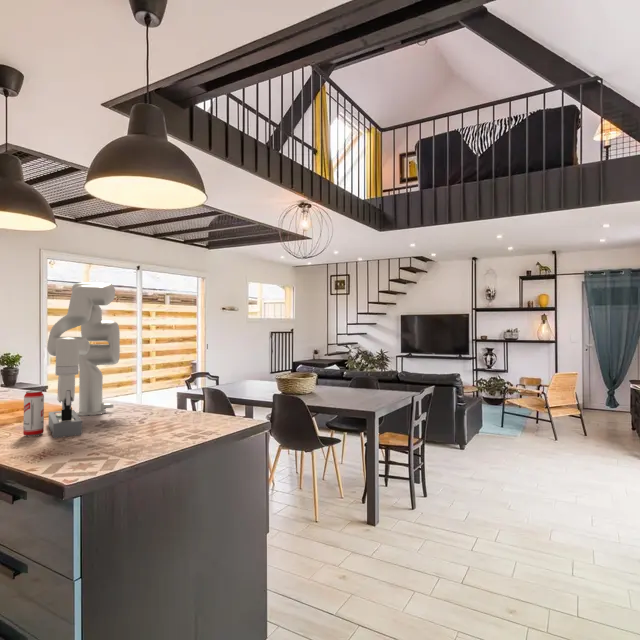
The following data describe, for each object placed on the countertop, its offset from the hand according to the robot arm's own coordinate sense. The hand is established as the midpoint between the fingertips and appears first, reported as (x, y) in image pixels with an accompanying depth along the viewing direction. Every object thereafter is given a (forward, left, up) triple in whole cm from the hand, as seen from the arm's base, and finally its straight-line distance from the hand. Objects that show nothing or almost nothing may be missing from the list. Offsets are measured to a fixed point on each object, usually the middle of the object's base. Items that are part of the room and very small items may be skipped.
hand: (66, 420), depth 167 cm
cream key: (0, 0, -3) cm, 3 cm away
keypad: (0, -8, -5) cm, 9 cm away
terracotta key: (0, -16, -3) cm, 16 cm away
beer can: (+10, -4, -5) cm, 12 cm away
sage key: (0, -8, -2) cm, 8 cm away
